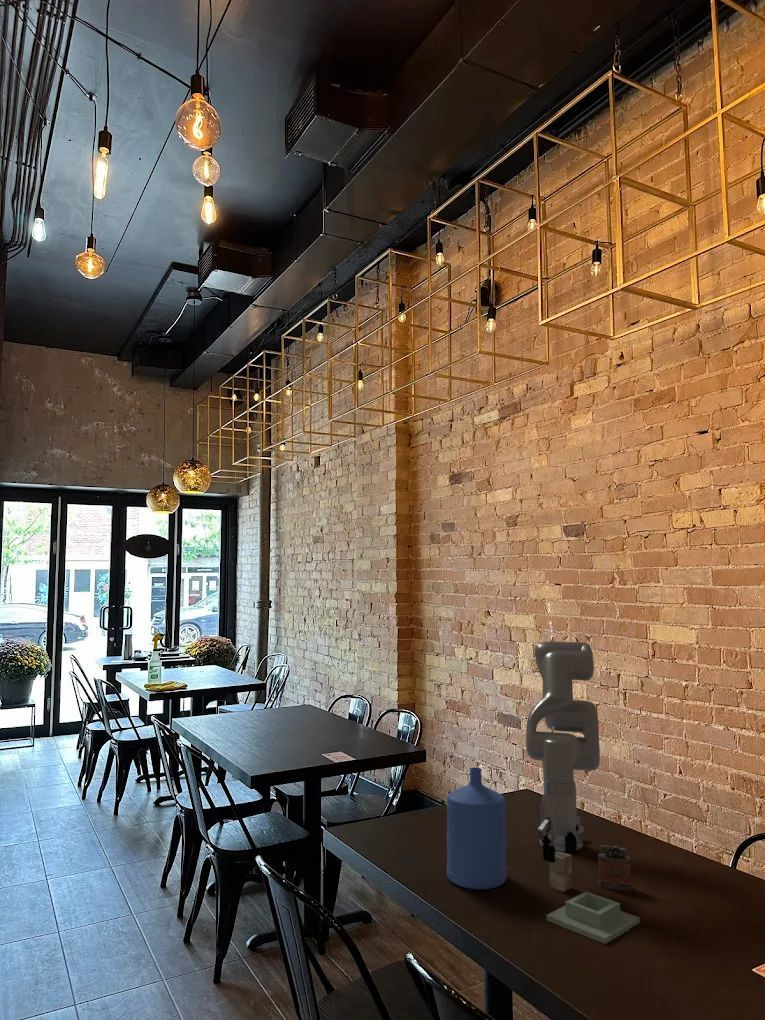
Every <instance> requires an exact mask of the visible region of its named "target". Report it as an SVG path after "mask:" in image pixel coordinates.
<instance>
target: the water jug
mask: <svg viewBox="0 0 765 1020" xmlns="http://www.w3.org/2000/svg"><path fill="white" fill-rule="evenodd" d="M469 771H470V774H469V783H468V784H467V785H464V786H463V787H460V788H458V789H455V790H453V791H451V792H450V793H448V795H447V798H446V799H447V801H446V812H447V819H446V823H447V826H446V829H447V833H446V845H447V846H446V847H447V851H446V853H447V854H446V855H447V857H446V858H447V859H446V860H447V861H446V862H447V865H446V876H447V878H448V880H449V881H450V882H451V883H453V884H454V885H456V886H459V887H462V888H465V889H468V890H469V889H470V890H491V889H494V888H498V887H500V886H502V885H503V884H504V883H505V882H506V881H507V869H506V867H507V865H506V848H507V838H506V837H507V836H506V812H507V810H506V808H507V807H506V798H505V797H504V795H503V794H501V793H500V792H497V791H495V790H493V789H492V788H489V787H487V786H485V784H484V785H483V783H482V776H483V775H482V768H480V767H470V768H469Z"/></svg>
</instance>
